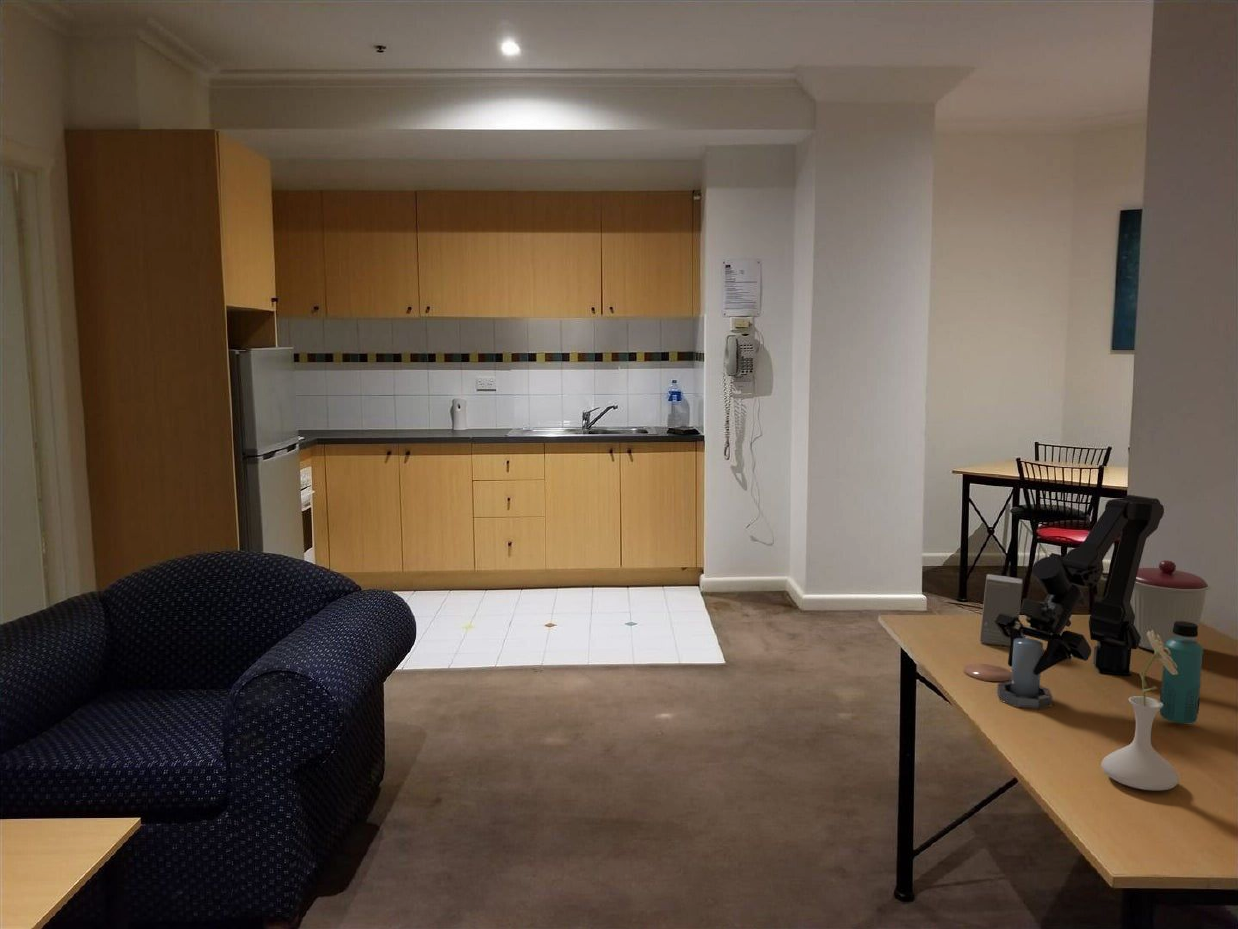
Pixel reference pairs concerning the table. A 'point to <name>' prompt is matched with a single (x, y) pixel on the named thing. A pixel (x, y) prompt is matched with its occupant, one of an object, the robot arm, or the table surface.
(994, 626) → the skincare box
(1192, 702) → the beverage bottle
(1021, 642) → the blue-grey cylinder
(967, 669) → the terracotta coaster
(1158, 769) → the flower in vase
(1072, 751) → the table surface
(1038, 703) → the dark grey octagonal ring
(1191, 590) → the canister
